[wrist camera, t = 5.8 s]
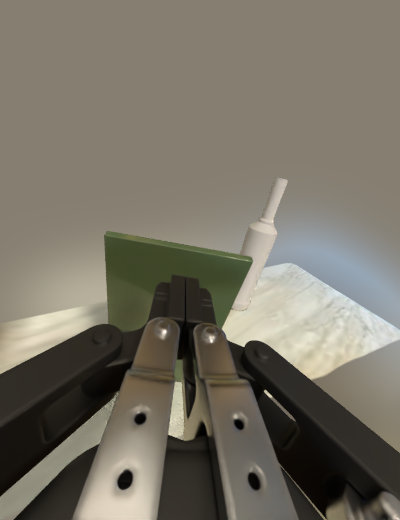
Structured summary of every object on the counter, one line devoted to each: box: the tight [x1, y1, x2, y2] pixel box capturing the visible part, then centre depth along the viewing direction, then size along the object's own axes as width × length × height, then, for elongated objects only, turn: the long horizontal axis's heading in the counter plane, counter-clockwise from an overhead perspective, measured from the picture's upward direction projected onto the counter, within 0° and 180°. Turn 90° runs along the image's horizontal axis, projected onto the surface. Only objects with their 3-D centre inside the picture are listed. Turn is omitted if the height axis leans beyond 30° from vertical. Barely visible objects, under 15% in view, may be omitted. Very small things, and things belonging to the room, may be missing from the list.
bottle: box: [232, 177, 288, 311], centre depth 38 cm, size 5×5×25 cm
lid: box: [104, 231, 253, 331], centre depth 19 cm, size 11×11×1 cm
